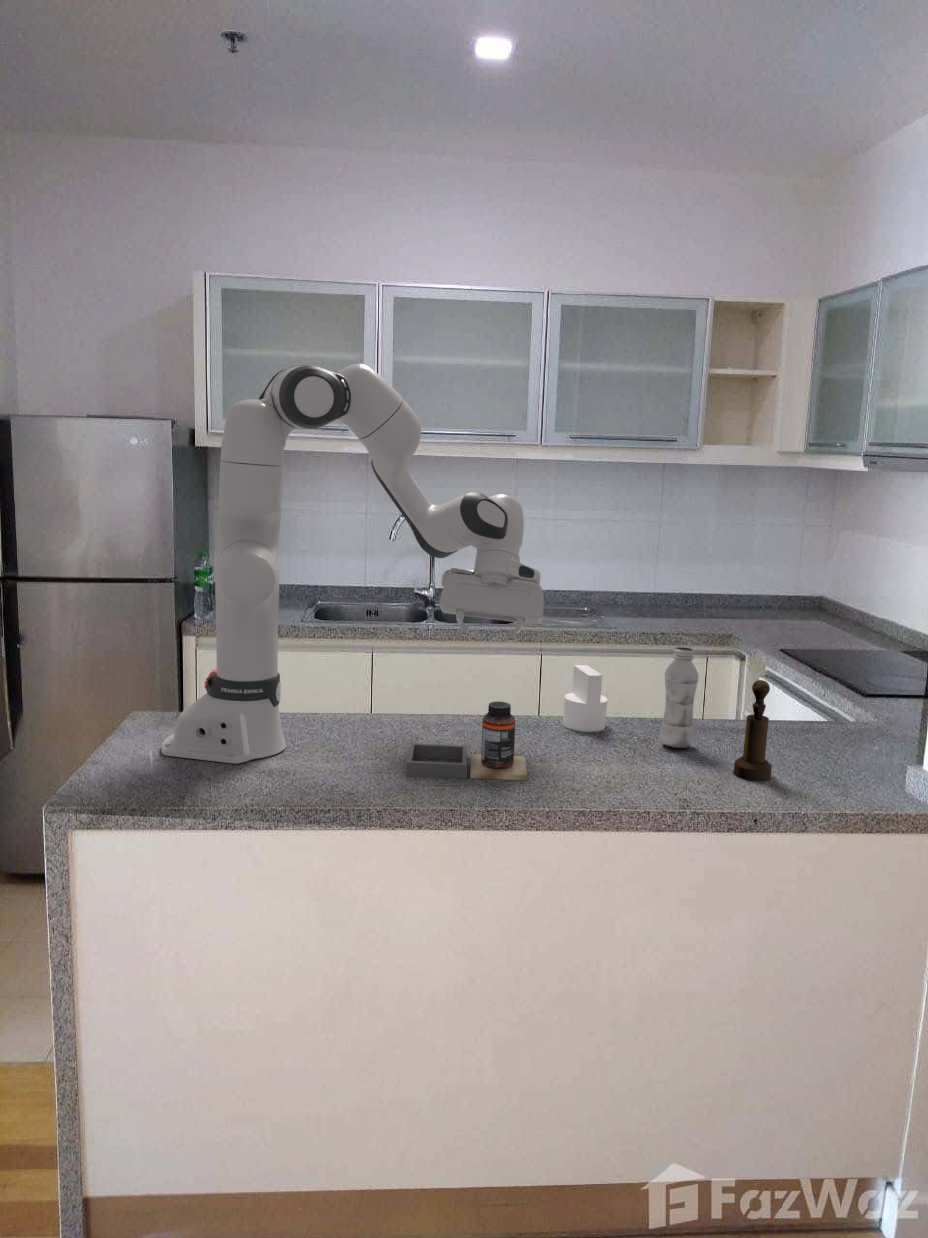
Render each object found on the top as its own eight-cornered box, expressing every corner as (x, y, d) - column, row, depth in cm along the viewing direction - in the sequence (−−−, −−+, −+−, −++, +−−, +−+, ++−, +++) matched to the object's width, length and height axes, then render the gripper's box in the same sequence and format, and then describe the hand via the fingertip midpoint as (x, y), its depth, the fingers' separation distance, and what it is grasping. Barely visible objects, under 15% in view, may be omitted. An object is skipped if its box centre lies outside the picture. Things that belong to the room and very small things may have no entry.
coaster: (470, 778, 169) (470, 772, 168) (470, 759, 178) (470, 754, 178) (526, 780, 169) (527, 775, 168) (524, 761, 178) (524, 756, 178)
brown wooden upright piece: (759, 768, 180) (769, 676, 177) (777, 780, 174) (788, 685, 170) (727, 769, 179) (736, 676, 175) (744, 782, 172) (754, 685, 169)
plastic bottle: (687, 754, 187) (696, 654, 183) (654, 747, 190) (662, 649, 186) (697, 745, 192) (705, 648, 188) (664, 739, 195) (672, 643, 192)
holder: (406, 775, 168) (406, 762, 168) (410, 755, 179) (410, 743, 178) (466, 778, 168) (466, 765, 168) (466, 758, 179) (467, 745, 178)
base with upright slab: (612, 730, 200) (616, 675, 198) (571, 732, 198) (575, 676, 195) (595, 718, 208) (599, 664, 206) (556, 719, 206) (560, 665, 204)
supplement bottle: (494, 756, 178) (497, 697, 175) (520, 764, 174) (523, 704, 172) (473, 764, 173) (476, 703, 171) (500, 772, 169) (503, 710, 167)
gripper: (443, 560, 186) (433, 625, 181) (548, 572, 185) (541, 638, 180) (443, 573, 192) (434, 637, 187) (545, 586, 191) (538, 650, 186)
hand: (487, 638), depth 183 cm, fingers open, 8 cm apart
